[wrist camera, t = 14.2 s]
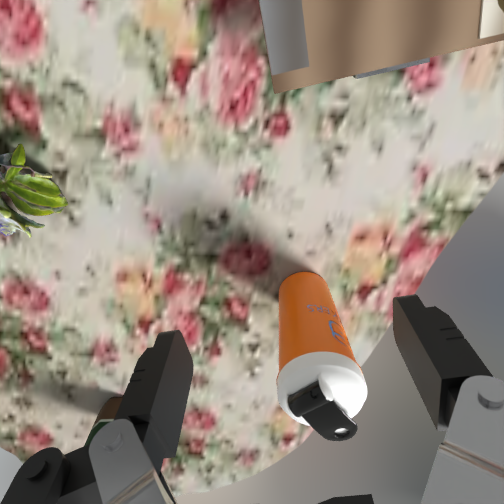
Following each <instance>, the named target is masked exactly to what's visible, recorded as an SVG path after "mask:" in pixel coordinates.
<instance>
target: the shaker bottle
mask: <svg viewBox="0 0 504 504" xmlns="http://www.w3.org/2000/svg"><path fill="white" fill-rule="evenodd" d="M277 394H278V401H279V404H280V406H281V407H282V409H283V410H284V411H285V412H286V413H287V414H288V415H289V416H290V417H291V418H292V419H294V420H296V421H297V422H299V423H302V424H305V425H308V426H311V427H312V428H313V429H315V430H316V431H317V432H318V433H319V434H320V435H322V436H323V437H324V438H325V439H327V440H332V441H343V440H347V439H349V438H352V437H353V436H354V435H355V433H356V431H357V424H356V423H355V422H354V421H353V420H352V419H351V418H352V417H353V416H355V415H356V414H357V413H358V412H359V411H360V409H361V407H362V405H363V404H364V402H365V399H366V396H367V386H366V383H365V380H364V376H363V372H362V370H361V367H360V366H359V365H358V364H357V362H356V360H355V358H354V355H353V352H352V350H351V347H350V344H349V342H348V339H347V336H346V334H345V331H344V328H343V326H342V323H341V320H340V318H339V315H338V312H337V309H336V307H335V304H334V301H333V299H332V296H331V293H330V291H329V288H328V286H327V283H326V282H325V280H324V279H323V278H322V277H320V276H319V275H317V274H315V273H311V272H299V273H295V274H292V275H291V276H289V277H287V278H286V279H285V280H284V281H283V282H282V284H281V286H280V289H279V373H278V376H277Z"/></svg>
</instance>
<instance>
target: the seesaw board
mask: <svg viewBox="0 0 504 504" xmlns="http://www.w3.org/2000/svg"><path fill="white" fill-rule="evenodd" d="M259 6H260V12H261V18H262V24H263V30H264V36H265V42H266V47H267V53H268V59H269V65H270V71H271V77H272V83H273V89H274V93H275V94H276V93H280V92H285V91H289V90H293V89H297V88H302V87H306V86H310V85H314V84H319V83H323V82H327V81H331V80H336V79H340V78H344V77H349V76H353V75H357V74H361V73H366V72H370V71H374V70H378V69H383V68H387V67H391V66H395V65H400V64H404V63H408V62H412V61H417V60H421V59H425V58H429V57H434V56H438V55H442V54H447V53H451V52H455V51H459V50H464V49H468V48H472V47H476V46H481V45H485V44H489V43H493V42H498V41H502V40H504V12H503V11H502V10H501V8H500V7H499V5H498V0H259Z"/></svg>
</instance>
